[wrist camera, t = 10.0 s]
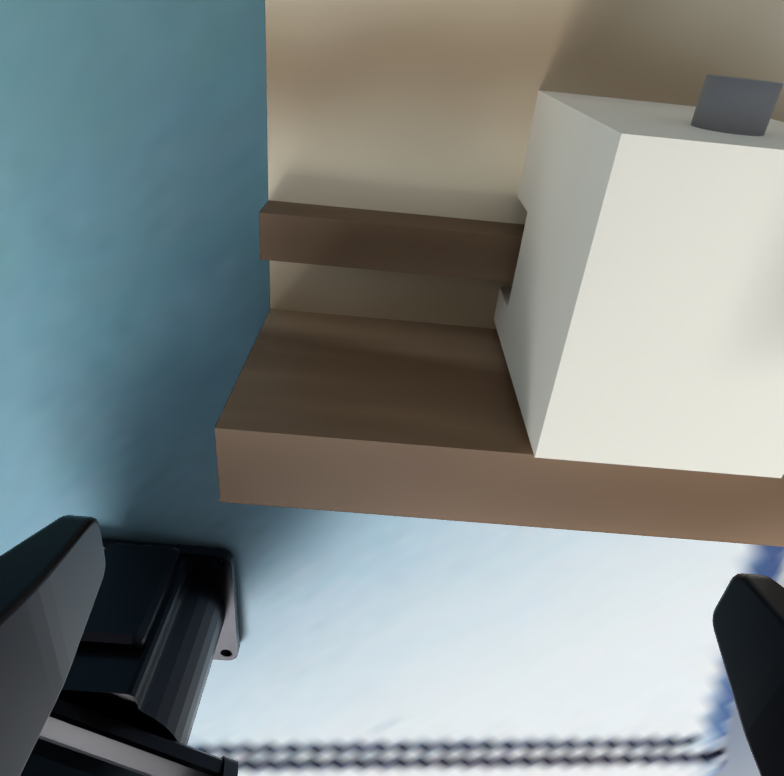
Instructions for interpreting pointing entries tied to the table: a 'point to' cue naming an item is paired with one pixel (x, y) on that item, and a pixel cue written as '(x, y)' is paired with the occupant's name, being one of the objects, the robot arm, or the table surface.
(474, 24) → the cleat board
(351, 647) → the table surface
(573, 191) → the white knobbed block
